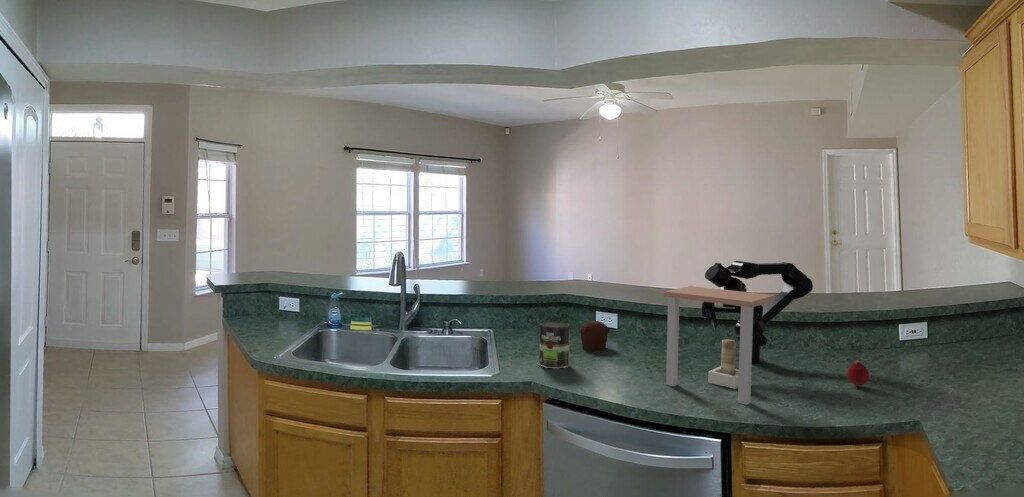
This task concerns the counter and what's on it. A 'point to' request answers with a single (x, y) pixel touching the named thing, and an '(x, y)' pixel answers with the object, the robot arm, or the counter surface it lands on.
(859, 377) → the onion
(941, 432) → the counter surface
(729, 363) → the peg
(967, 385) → the counter surface
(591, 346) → the muffin
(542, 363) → the coffee can
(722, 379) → the socket
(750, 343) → the pink topped table
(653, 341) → the counter surface
